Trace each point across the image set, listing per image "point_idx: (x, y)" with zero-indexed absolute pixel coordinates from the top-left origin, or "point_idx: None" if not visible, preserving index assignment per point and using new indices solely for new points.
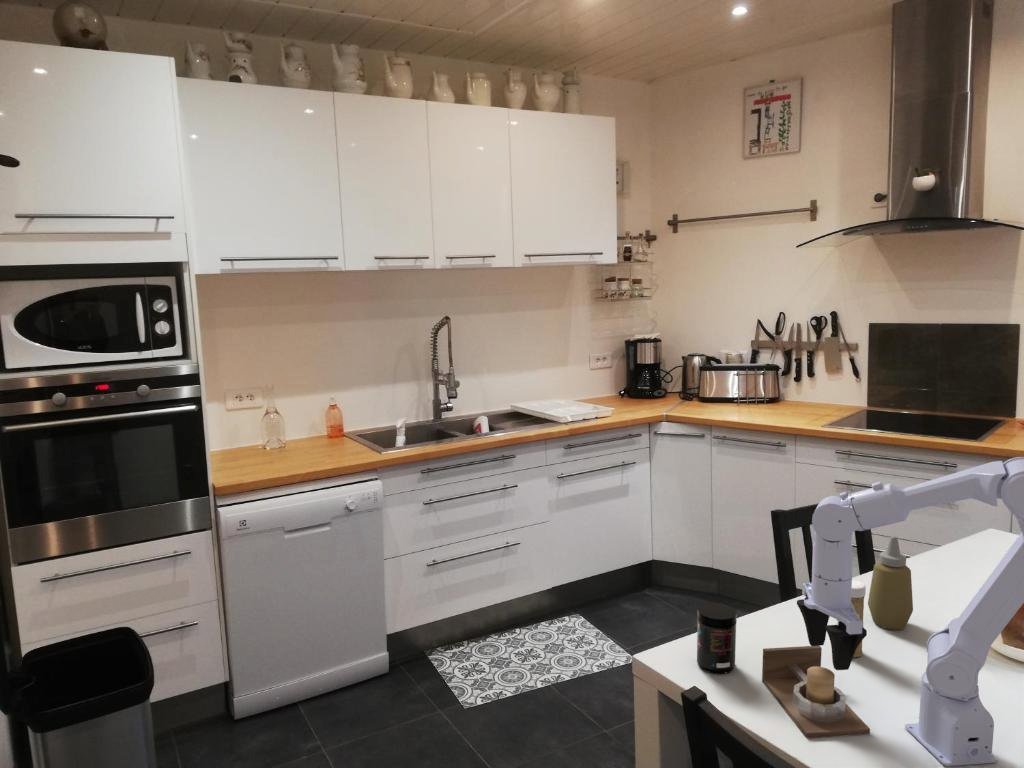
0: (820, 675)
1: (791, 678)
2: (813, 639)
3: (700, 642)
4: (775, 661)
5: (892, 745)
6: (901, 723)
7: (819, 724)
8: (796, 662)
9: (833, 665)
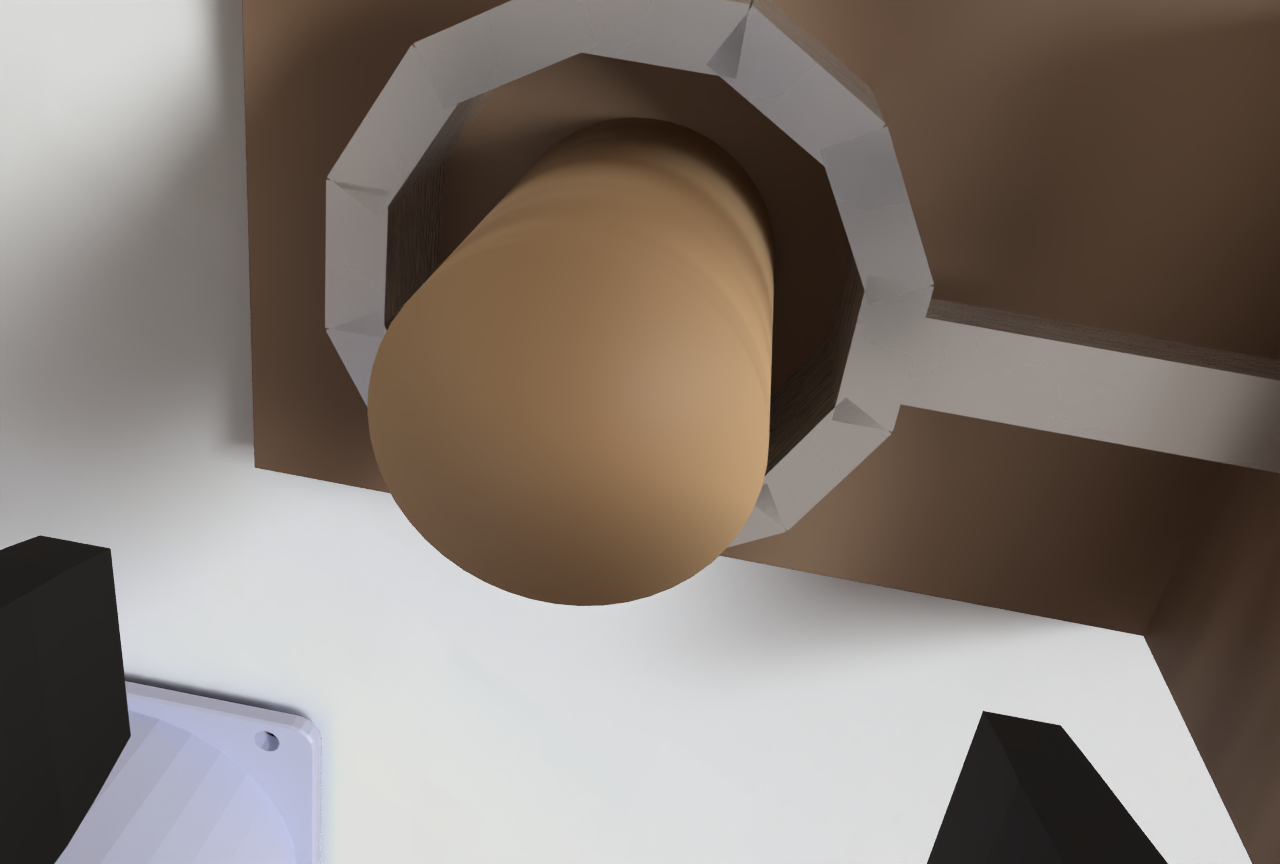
0: (502, 389)
1: (1263, 345)
2: (997, 849)
3: None
4: None
5: (125, 498)
6: (379, 733)
7: (369, 61)
8: None
9: (70, 565)
